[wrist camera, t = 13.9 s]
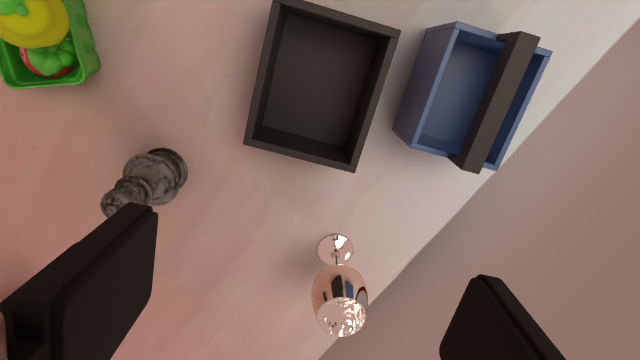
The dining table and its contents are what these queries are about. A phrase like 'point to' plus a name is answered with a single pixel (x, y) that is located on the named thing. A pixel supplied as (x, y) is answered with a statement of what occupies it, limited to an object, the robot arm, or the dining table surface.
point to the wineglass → (338, 290)
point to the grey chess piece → (147, 181)
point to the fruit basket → (45, 43)
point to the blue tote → (469, 93)
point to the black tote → (318, 83)
